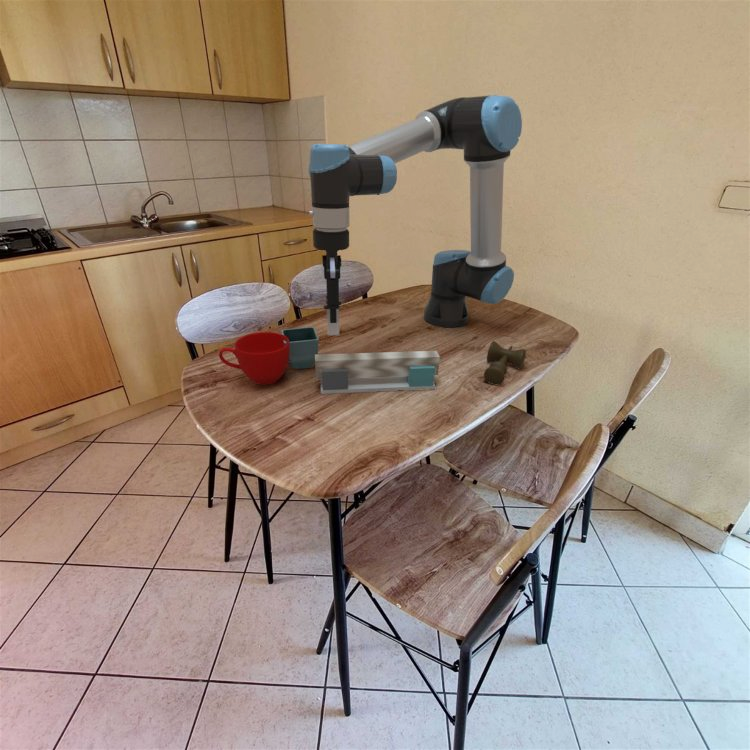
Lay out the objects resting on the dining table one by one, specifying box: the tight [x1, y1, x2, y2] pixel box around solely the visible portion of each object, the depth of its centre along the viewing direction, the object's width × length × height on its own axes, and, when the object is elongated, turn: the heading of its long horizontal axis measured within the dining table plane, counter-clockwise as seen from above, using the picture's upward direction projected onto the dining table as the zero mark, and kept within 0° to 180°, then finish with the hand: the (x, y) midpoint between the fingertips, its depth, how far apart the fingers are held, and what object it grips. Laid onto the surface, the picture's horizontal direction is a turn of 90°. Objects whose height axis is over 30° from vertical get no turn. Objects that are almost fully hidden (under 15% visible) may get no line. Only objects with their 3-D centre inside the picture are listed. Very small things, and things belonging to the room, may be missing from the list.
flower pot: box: [281, 326, 320, 370], centre depth 115 cm, size 9×9×9 cm
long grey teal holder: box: [320, 366, 436, 395], centre depth 107 cm, size 28×7×6 cm, turn 97°
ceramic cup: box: [218, 331, 290, 385], centre depth 108 cm, size 13×17×10 cm
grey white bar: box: [314, 350, 441, 381], centre depth 106 cm, size 30×4×5 cm, turn 97°
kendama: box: [483, 340, 527, 385], centre depth 117 cm, size 6×10×20 cm
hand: (333, 333), depth 101 cm, fingers closed
